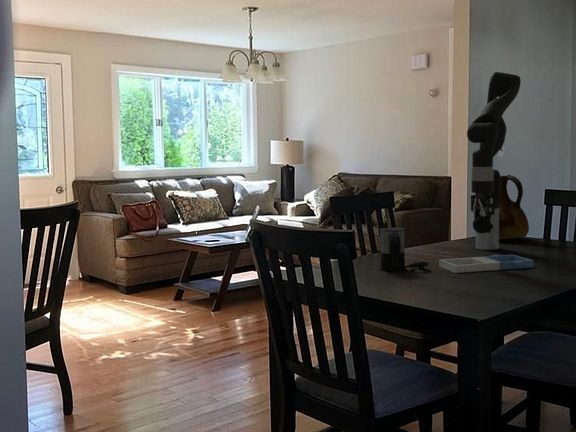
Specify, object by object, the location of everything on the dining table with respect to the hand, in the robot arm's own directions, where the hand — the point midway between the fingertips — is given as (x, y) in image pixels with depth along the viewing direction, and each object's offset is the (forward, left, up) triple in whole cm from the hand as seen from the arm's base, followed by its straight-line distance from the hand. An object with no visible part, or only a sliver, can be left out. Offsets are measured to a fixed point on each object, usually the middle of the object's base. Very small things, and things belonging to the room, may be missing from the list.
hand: (482, 225), depth 235 cm
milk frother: (-5, -28, -15) cm, 32 cm away
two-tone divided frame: (+1, +1, -15) cm, 15 cm away
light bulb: (+1, +1, -3) cm, 3 cm away
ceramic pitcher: (-56, +42, -15) cm, 72 cm away
